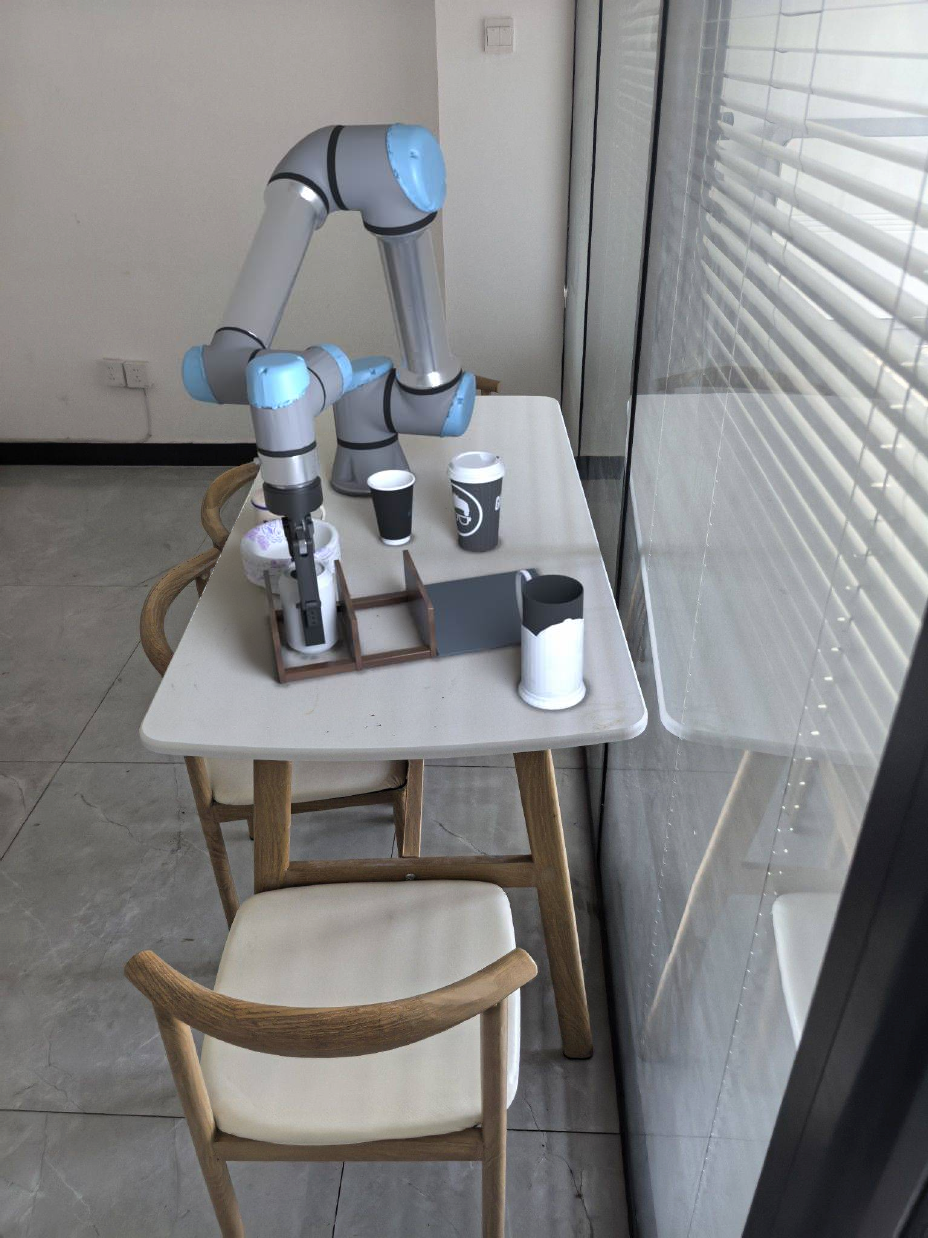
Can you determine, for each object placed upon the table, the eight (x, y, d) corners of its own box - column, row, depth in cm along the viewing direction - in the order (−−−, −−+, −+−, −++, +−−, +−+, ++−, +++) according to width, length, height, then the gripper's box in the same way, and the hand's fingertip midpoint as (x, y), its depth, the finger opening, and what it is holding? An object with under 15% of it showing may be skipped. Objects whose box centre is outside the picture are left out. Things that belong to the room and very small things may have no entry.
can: (282, 636, 139) (270, 562, 133) (332, 624, 141) (322, 551, 135) (295, 662, 133) (283, 586, 127) (347, 649, 136) (338, 574, 129)
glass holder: (537, 716, 120) (537, 613, 113) (489, 660, 132) (486, 563, 124) (598, 698, 123) (602, 596, 116) (546, 644, 135) (547, 548, 127)
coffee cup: (501, 557, 157) (500, 472, 149) (444, 554, 159) (440, 469, 151) (511, 532, 165) (510, 449, 157) (456, 529, 167) (452, 447, 159)
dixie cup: (364, 537, 166) (358, 477, 160) (403, 524, 169) (399, 465, 164) (387, 553, 160) (382, 492, 154) (428, 540, 164) (424, 480, 158)
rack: (270, 617, 144) (262, 570, 140) (411, 595, 148) (407, 549, 144) (280, 684, 129) (272, 633, 125) (436, 657, 133) (433, 607, 129)
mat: (410, 589, 150) (410, 587, 149) (534, 570, 153) (534, 568, 153) (438, 657, 133) (438, 655, 133) (576, 634, 137) (576, 632, 136)
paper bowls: (290, 616, 144) (283, 569, 140) (227, 586, 153) (219, 541, 148) (363, 576, 153) (359, 531, 149) (300, 550, 162) (294, 507, 158)
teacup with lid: (256, 557, 161) (246, 493, 154) (260, 533, 168) (250, 471, 162) (329, 551, 161) (321, 487, 155) (329, 528, 169) (322, 466, 163)
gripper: (256, 454, 132) (279, 598, 144) (267, 514, 115) (292, 672, 127) (311, 447, 133) (329, 591, 145) (329, 505, 116) (348, 663, 128)
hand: (312, 628), depth 136 cm, fingers closed on can, 7 cm apart
